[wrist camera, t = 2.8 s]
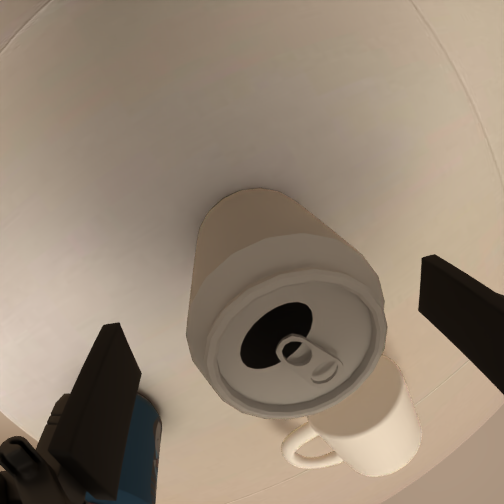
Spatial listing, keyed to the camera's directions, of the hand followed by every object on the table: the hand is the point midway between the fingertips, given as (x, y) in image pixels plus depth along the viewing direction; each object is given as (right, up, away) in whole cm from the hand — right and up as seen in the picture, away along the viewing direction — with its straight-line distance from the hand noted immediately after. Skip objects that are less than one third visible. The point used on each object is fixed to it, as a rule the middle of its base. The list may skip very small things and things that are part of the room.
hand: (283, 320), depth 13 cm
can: (-1, +3, +8) cm, 9 cm away
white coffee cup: (+7, -11, +15) cm, 20 cm away
